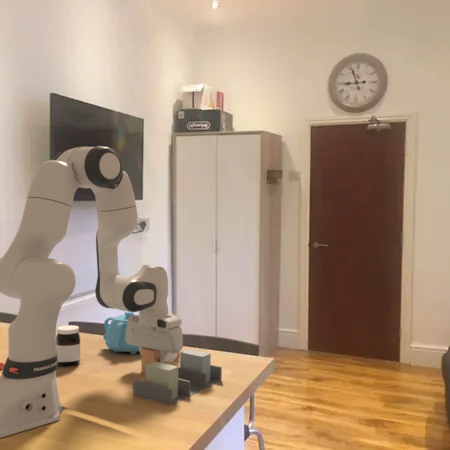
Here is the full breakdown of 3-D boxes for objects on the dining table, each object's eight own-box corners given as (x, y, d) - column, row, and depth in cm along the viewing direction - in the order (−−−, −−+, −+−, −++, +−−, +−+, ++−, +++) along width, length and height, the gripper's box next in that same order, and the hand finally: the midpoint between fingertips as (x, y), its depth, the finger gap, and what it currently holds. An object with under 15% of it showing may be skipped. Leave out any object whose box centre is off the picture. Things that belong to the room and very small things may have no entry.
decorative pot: (146, 342, 203) (146, 306, 203) (157, 353, 188) (157, 314, 188) (102, 346, 197) (102, 309, 196) (110, 358, 182) (110, 318, 182)
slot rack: (170, 409, 138) (171, 389, 138) (133, 398, 145) (133, 380, 145) (221, 383, 158) (221, 367, 157) (185, 375, 165) (186, 359, 164)
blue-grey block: (202, 384, 154) (202, 356, 153) (180, 379, 158) (180, 352, 158) (210, 380, 157) (210, 353, 157) (188, 375, 161) (188, 349, 161)
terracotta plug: (154, 378, 162) (154, 351, 162) (141, 374, 165) (141, 349, 165) (164, 373, 166) (164, 348, 166) (152, 370, 169) (152, 345, 169)
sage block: (168, 400, 141) (168, 370, 141) (145, 394, 145) (145, 365, 145) (178, 396, 144) (178, 366, 144) (155, 390, 149) (155, 361, 148)
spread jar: (82, 366, 173) (82, 330, 172) (44, 370, 169) (44, 333, 168) (77, 356, 184) (77, 322, 184) (42, 359, 180) (42, 324, 179)
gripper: (121, 315, 168) (121, 359, 168) (172, 324, 157) (172, 371, 157) (135, 312, 173) (134, 354, 174) (186, 320, 162) (185, 365, 163)
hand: (153, 362), depth 165 cm, fingers closed on terracotta plug, 5 cm apart
